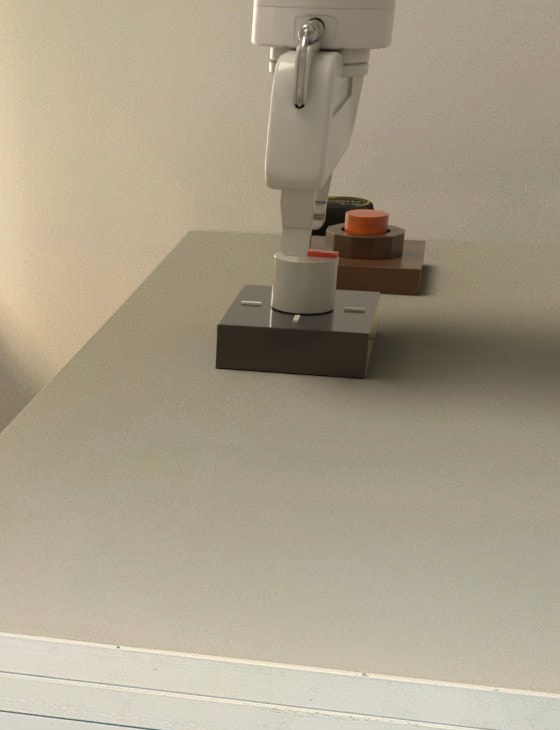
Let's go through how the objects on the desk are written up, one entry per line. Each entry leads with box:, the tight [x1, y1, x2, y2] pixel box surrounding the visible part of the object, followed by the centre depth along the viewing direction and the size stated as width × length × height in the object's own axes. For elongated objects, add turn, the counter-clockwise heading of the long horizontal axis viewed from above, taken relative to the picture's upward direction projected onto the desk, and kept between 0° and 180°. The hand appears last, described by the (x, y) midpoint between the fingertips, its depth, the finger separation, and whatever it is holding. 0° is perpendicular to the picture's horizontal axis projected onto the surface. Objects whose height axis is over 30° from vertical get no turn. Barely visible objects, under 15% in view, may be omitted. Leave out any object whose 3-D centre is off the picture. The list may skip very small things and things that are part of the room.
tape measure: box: [312, 195, 375, 236], centre depth 126 cm, size 7×7×4 cm
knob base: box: [215, 284, 381, 379], centre depth 92 cm, size 12×10×3 cm
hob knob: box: [271, 249, 339, 314], centre depth 90 cm, size 4×4×4 cm
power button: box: [344, 209, 390, 235], centre depth 111 cm, size 4×4×2 cm
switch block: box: [310, 223, 427, 297], centre depth 112 cm, size 12×10×4 cm
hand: (303, 240), depth 89 cm, fingers open, 8 cm apart
